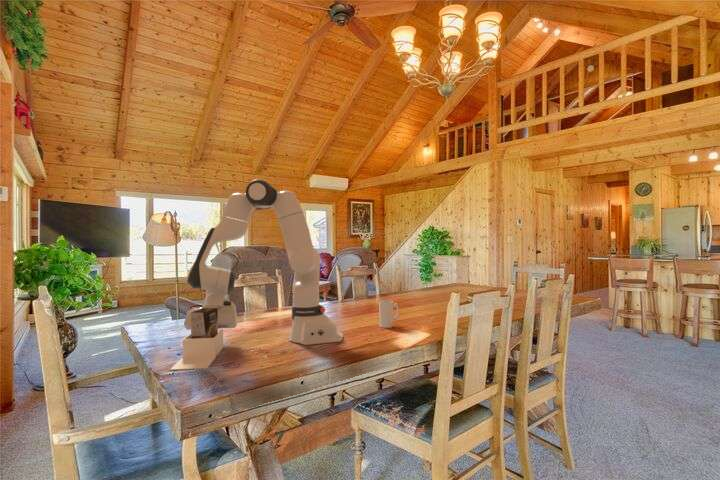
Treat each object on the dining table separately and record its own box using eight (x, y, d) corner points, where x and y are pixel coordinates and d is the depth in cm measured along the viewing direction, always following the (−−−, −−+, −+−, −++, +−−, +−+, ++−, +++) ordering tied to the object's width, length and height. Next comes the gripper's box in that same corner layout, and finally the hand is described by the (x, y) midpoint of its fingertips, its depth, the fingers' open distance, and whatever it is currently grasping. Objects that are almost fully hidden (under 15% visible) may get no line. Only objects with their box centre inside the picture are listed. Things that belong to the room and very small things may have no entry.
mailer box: (224, 347, 155) (223, 329, 155) (207, 368, 130) (206, 347, 130) (193, 348, 153) (192, 330, 153) (169, 370, 129) (169, 349, 129)
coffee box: (207, 356, 143) (206, 312, 143) (190, 355, 144) (189, 312, 144) (219, 349, 152) (218, 307, 152) (203, 348, 153) (202, 307, 153)
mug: (381, 328, 183) (381, 302, 182) (377, 325, 189) (377, 300, 189) (401, 327, 185) (401, 301, 185) (396, 324, 192) (396, 299, 192)
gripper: (186, 303, 160) (178, 333, 150) (237, 302, 162) (233, 331, 153) (189, 312, 164) (182, 342, 155) (239, 311, 167) (235, 340, 157)
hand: (208, 337), depth 154 cm, fingers closed
